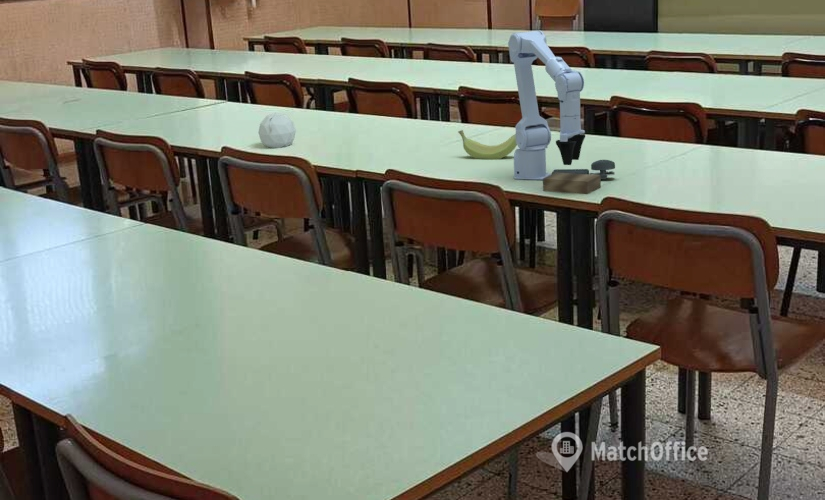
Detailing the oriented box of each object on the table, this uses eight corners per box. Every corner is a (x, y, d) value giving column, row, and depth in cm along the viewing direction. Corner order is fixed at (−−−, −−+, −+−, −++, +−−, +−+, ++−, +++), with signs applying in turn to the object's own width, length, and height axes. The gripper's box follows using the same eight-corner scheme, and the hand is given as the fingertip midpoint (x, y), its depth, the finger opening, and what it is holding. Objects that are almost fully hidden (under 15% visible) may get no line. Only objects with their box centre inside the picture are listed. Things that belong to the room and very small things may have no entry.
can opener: (616, 178, 320) (615, 157, 318) (614, 181, 315) (614, 160, 314) (553, 178, 325) (552, 158, 324) (550, 182, 321) (550, 161, 319)
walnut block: (543, 192, 309) (542, 178, 308) (556, 185, 316) (556, 172, 315) (587, 195, 301) (587, 181, 300) (600, 188, 309) (600, 175, 307)
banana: (502, 173, 355) (449, 146, 359) (506, 169, 360) (454, 143, 364) (518, 137, 350) (465, 110, 353) (522, 134, 355) (470, 108, 358)
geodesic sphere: (294, 153, 396) (291, 114, 392) (256, 155, 396) (252, 117, 393) (299, 146, 410) (296, 109, 407) (263, 148, 411) (259, 111, 407)
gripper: (576, 119, 295) (577, 167, 299) (590, 111, 308) (591, 157, 311) (552, 119, 298) (553, 166, 301) (567, 111, 310) (568, 157, 314)
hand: (571, 162), depth 307 cm, fingers open, 7 cm apart
